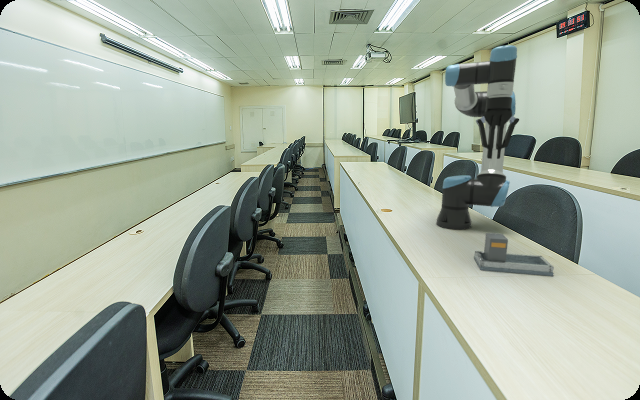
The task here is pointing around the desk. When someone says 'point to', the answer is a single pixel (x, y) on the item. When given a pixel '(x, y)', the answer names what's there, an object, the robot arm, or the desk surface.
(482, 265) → the shallow grey tray
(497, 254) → the block
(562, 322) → the desk surface
